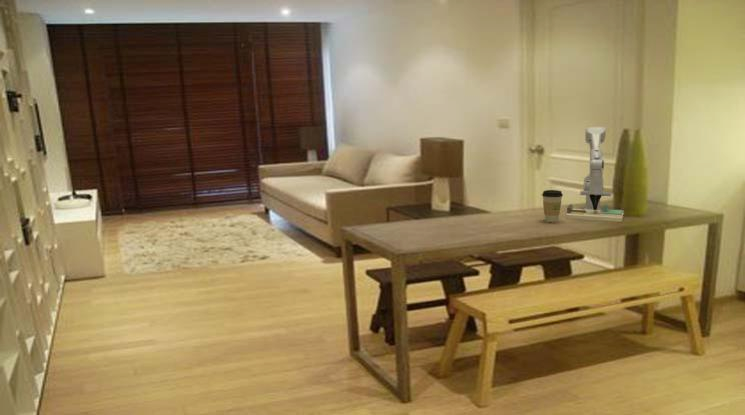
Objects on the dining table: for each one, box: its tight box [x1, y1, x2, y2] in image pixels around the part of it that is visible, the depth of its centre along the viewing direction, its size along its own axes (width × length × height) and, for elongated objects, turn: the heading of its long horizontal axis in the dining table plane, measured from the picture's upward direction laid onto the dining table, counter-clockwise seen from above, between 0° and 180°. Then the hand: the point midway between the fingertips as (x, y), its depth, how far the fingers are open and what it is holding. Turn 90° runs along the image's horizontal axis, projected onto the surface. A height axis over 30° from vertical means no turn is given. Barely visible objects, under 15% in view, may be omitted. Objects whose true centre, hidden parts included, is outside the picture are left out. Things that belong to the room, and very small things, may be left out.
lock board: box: [565, 208, 625, 223], centre depth 310 cm, size 16×26×3 cm, turn 65°
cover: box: [602, 204, 623, 215], centre depth 305 cm, size 9×9×4 cm
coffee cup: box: [541, 189, 564, 223], centre depth 302 cm, size 10×10×15 cm
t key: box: [566, 203, 586, 214], centre depth 313 cm, size 9×9×3 cm
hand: (595, 209), depth 309 cm, fingers closed
